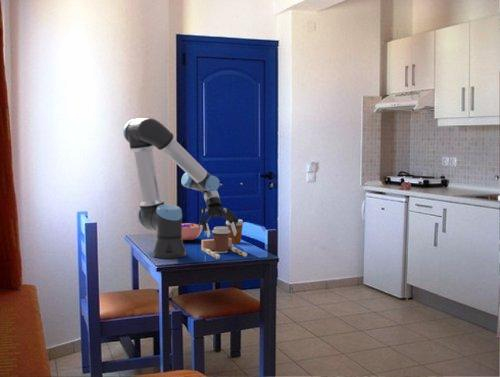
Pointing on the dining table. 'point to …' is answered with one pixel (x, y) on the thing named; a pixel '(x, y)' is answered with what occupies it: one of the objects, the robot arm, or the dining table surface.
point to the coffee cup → (221, 239)
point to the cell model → (190, 231)
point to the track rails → (219, 255)
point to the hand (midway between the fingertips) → (222, 235)
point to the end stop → (212, 244)
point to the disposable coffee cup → (239, 225)
